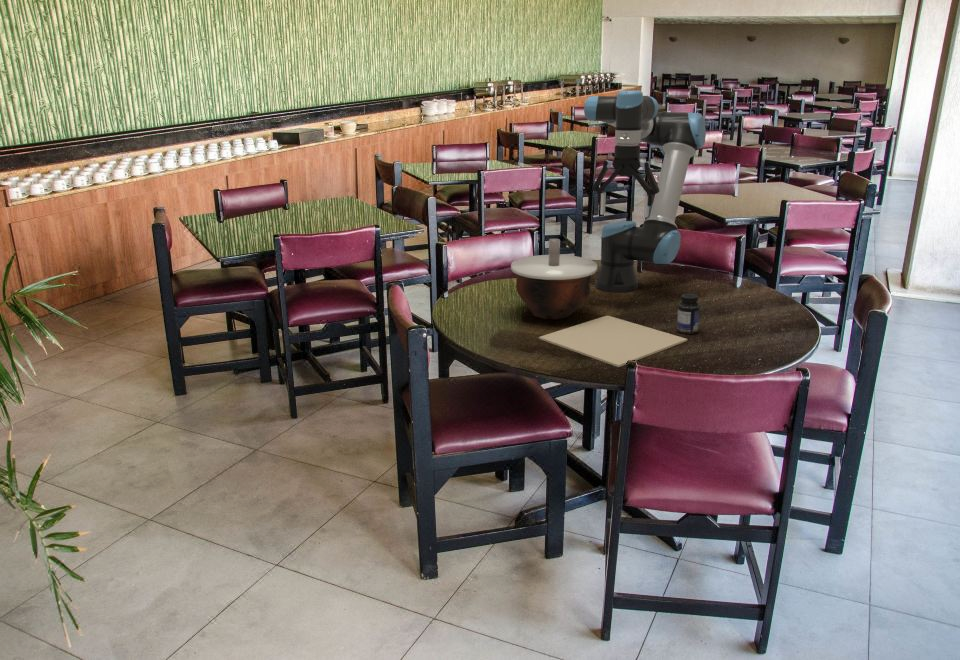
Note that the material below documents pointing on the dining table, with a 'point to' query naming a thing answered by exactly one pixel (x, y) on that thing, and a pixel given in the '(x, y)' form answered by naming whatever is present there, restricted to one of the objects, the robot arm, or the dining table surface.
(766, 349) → the dining table surface
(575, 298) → the bowl
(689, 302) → the pill bottle
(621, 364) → the mat
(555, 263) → the lid
